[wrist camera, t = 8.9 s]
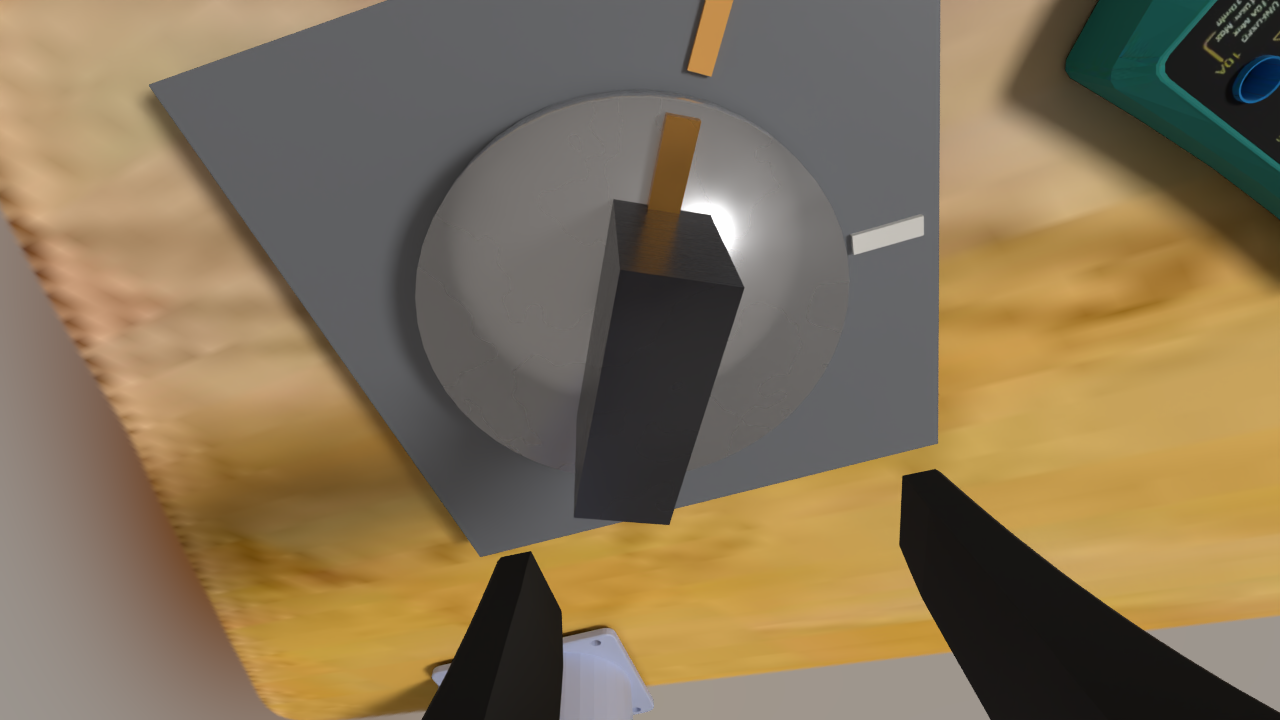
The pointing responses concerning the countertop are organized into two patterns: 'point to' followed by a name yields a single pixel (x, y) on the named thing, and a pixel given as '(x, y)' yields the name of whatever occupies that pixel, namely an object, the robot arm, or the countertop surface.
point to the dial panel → (524, 84)
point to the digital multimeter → (1194, 79)
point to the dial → (631, 292)
